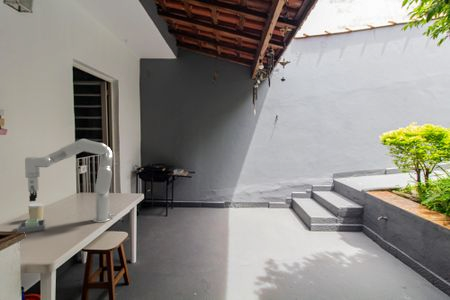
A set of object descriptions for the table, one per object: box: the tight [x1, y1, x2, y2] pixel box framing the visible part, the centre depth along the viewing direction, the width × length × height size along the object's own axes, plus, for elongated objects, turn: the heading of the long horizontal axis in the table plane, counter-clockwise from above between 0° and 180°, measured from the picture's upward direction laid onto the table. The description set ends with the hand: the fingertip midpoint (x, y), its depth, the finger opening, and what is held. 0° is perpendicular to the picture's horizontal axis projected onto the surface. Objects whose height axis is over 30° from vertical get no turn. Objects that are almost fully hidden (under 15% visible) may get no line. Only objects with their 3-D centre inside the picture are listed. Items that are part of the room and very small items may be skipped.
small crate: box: [25, 219, 38, 228], centre depth 163 cm, size 6×6×5 cm
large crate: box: [16, 219, 46, 234], centre depth 163 cm, size 14×14×4 cm
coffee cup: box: [28, 202, 45, 220], centre depth 180 cm, size 9×9×12 cm
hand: (33, 199), depth 163 cm, fingers open, 9 cm apart
